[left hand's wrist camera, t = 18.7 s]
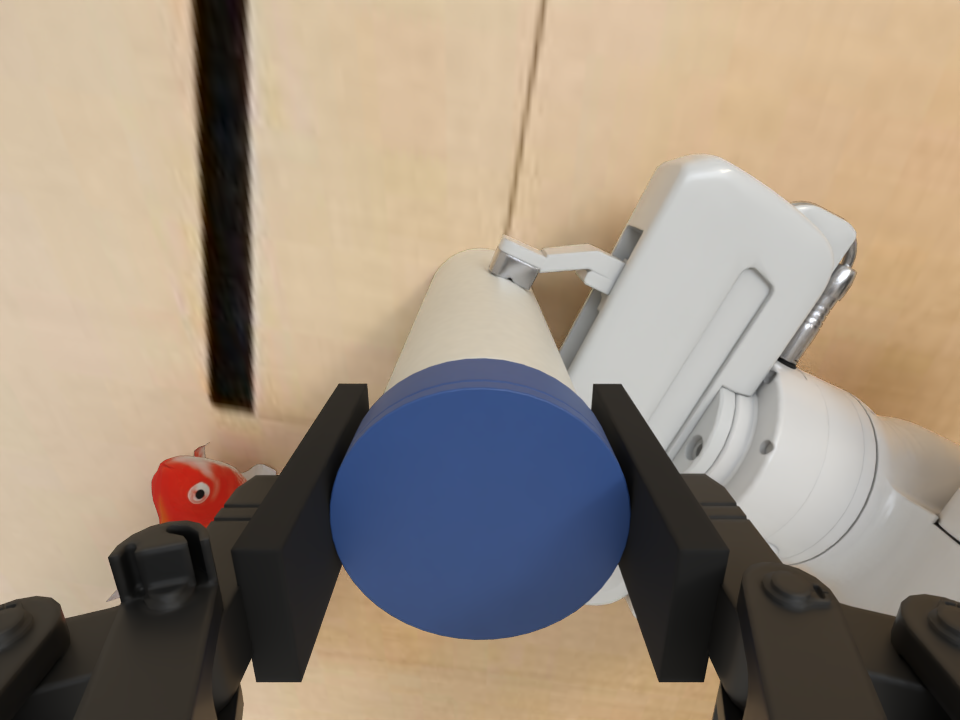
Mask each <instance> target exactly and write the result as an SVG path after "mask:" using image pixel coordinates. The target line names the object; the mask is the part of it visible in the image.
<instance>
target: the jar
mask: <svg viewBox="0 0 960 720" xmlns="http://www.w3.org/2000/svg"><path fill="white" fill-rule="evenodd" d="M495 251H496V250H491V249H485V248H475V249H469V250H465V251H462V252H459V253H457V254H455V255H453V256H452V257H450V258H449V259H448V260H446V261H445V262H444V263H443V264H442V265H441V266H440V268H439V269H438V270H437V272H436V273H435V275H434V277H433V279H432V281H431V284H430V286H429V288H428V291H427V293H426V295H425V298H424V300H423V302H422V305H421V307H420V309H419V312H418V314H417V316H416V319H415V321H414V323H413V326H412V328H411V330H410V333H409V335H408V337H407V340H406V342H405V344H404V347H403V349H402V352H401V354H400V356H399V359H398V361H397V363H396V366H395V368H394V370H393V373H392V375H391V377H390V380H389V382H388V384H387V387H386V389H385V391H384V393H386V392H387V391H388V390H389V389H391V388H392V387H393V386H394V385H396V384H397V383H398V382H400V381H402V380H403V379H405V378H407V377H408V376H410V375H412V374H414V373H416V372H418V371H421V370H423V369H425V368H428V367H430V366H434V365H437V364H441V363H444V362H448V361H455V360H461V359H474V358H488V359H499V360H506V361H511V362H515V363H520V364H524V365H526V366H529V367H532V368H535V369H538V370H540V371H542V372H544V373H546V374H548V375H550V376H552V377H554V378H556V379H557V380H559V381H560V382H561V383H563V384H564V385H566V386H567V387H569V388H570V389H571V390H572V391H573V392H575V393H576V391H575V389H574V386H573V384H572V382H571V379H570V377H569V375H568V372H567V370H566V367H565V365H564V363H563V360H562V358H561V356H560V353H559V351H558V349H557V346H556V344H555V342H554V339H553V337H552V335H551V332H550V330H549V327H548V325H547V323H546V320H545V318H544V316H543V313H542V311H541V309H540V306H539V304H538V302H537V299H536V297H535V295H534V292H533V290H532V287H531V288H530V290H527V289H525V288H522V287H520V286H518V285H517V284H515V283H514V282H513V281H512V279H511V278H508V279H504V278H501V277H498V276H496V275H495V274H493V273H491V272H490V271H489V265H490V262H491V260H492V258H493V255H494V253H495ZM576 394H577V393H576Z"/></svg>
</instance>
